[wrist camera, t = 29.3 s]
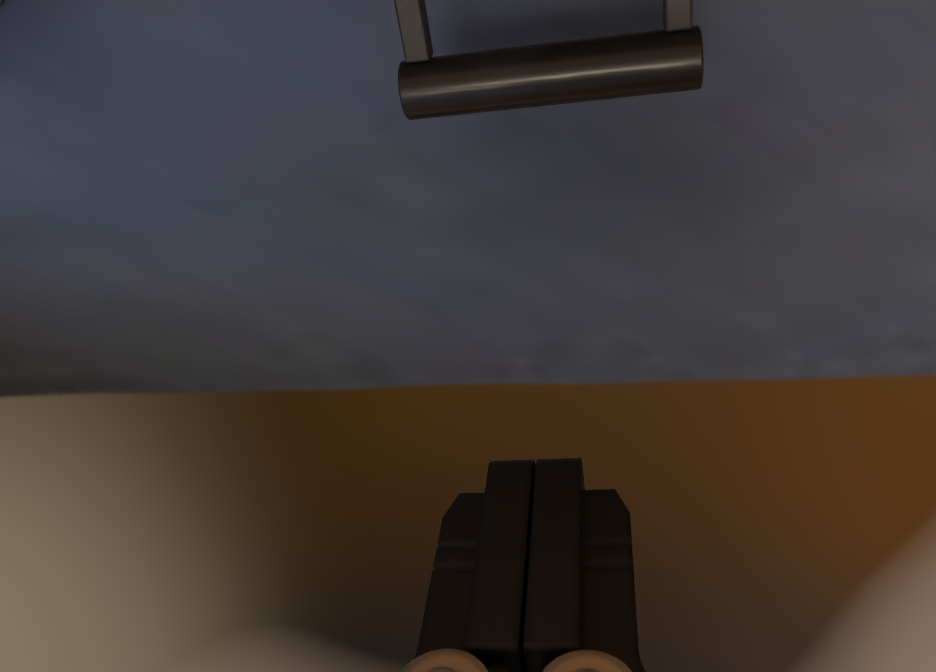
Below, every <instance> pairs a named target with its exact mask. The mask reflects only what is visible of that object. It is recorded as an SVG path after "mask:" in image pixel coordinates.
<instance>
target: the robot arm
mask: <svg viewBox="0 0 936 672" xmlns="http://www.w3.org/2000/svg"><path fill="white" fill-rule="evenodd" d="M401 672H646V671H645V670H644V668H643V666H642V663H641V660H640V656H639V649H638V634H637V619H636V603H635V588H634V572H633V556H632V539H631V524H630V513H629V511H628V510H627V508H626V506H625V505H624V503H623V501H622V500H621V498H620V497H619V495H618V493H617V492H616V490H615V489H611V490H585V488H584V477H583V467H582V460H581V458H564V459H538V460H537V462H536V464H535V461H534V460H511V461H491V462H490V463H489V467H488V474H487V481H486V488H485V493H462V494H459V495H458V497H457V498H456V500H455V501H454V502H453V504H452V505H451V506H450V508H449V509H448V511H447V512H446V514H445V515H444V516H443V519H442V525H441V529H440V535H439V540H438V548H437V551H436V556H435V560H434V570H433V572H432V576H431V582H430V586H429V592H428V597H427V602H426V607H425V612H424V618H423V623H422V628H421V633H420V638H419V644H418V648H417V652H416V655H415V658H414V660H412V662H410V663H409V664H408V665H407V666H406V667H405V668H404V669H403V670H402V671H401Z"/></svg>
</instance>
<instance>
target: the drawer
mask: <svg viewBox="0 0 936 672" xmlns="http://www.w3.org/2000/svg"><path fill="white" fill-rule="evenodd" d="M394 2H395V8H396V13H397V18H398V24H399V29H400V35H401V40H402V45H403V51H404V56H405V60H404V61H402V62H401V63H400V65H399V70H398V87H399V95H400V101H401V105H402V108H403V111H404V114H405V116H406V117H407V118H408V119H410V120H414V119H423V118H433V117H442V116H452V115H461V114H471V113H480V112H490V111H499V110H508V109H518V108H527V107H537V106H546V105H556V104H565V103H575V102H584V101H594V100H603V99H613V98H622V97H631V96H641V95H650V94H660V93H669V92H679V91H688V90H698V89H700V88H701V86H702V82H703V41H702V33H701V29H700V27H699V26H697V25H696V26H692V0H663V25H664V29H663V30H654V31H646V32H638V33H629V34H621V35H613V36H604V37H596V38H588V39H579V40H571V41H562V42H554V43H546V44H537V45H529V46H521V47H512V48H504V49H496V50H487V51H479V52H471V53H462V54H454V55H445V56H437V57H432V55H433V48H432V42H431V36H430V30H429V24H428V18H427V12H426V6H425V0H394Z"/></svg>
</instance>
